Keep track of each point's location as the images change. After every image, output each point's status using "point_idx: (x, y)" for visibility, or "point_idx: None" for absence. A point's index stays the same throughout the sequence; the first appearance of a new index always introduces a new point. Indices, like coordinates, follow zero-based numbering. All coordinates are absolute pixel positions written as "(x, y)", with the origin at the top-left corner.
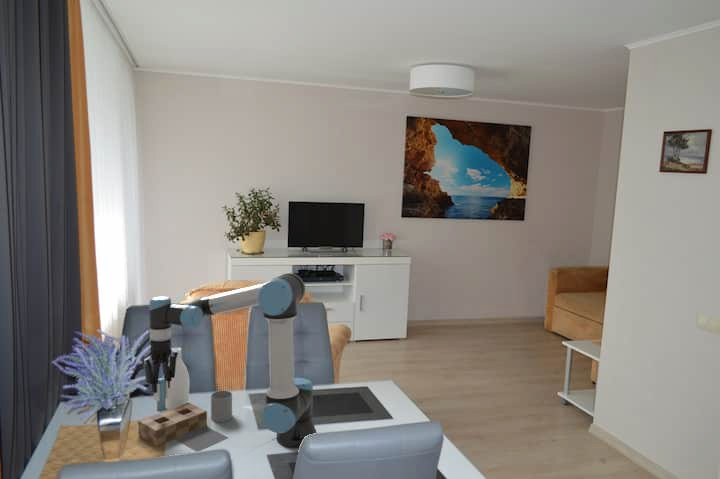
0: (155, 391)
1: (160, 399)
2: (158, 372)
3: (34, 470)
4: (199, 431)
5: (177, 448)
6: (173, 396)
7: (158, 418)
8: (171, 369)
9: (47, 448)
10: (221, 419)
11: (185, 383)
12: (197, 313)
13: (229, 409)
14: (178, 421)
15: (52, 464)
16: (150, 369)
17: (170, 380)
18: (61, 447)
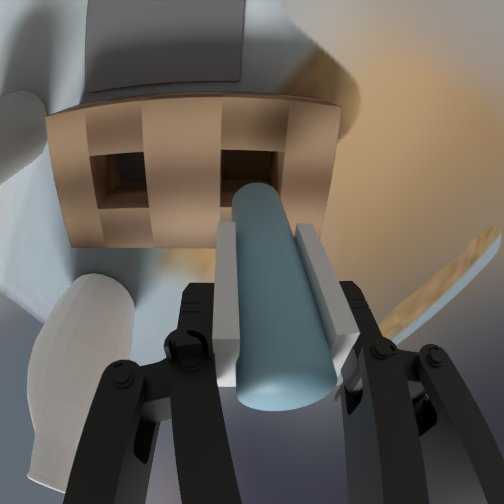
0: (348, 288)
1: (288, 230)
2: (389, 480)
3: (497, 248)
4: (127, 69)
5: (277, 20)
6: (106, 318)
7: None
8: (129, 477)
9: (435, 307)
10: (27, 95)
11: (48, 337)
12: None
13: None
14: (202, 102)
15: (480, 245)
16: (500, 494)
17: (185, 334)
18: (427, 295)
